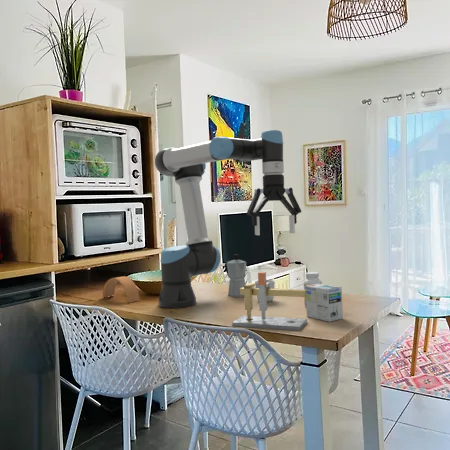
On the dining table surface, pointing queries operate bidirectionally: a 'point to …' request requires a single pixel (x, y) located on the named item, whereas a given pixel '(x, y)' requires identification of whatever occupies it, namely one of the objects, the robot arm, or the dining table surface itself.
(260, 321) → the bolt plate
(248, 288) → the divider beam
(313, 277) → the supplement bottle
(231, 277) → the coffee maker
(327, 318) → the light bulb box
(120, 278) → the arch
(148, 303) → the dining table surface
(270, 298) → the cup
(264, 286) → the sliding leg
